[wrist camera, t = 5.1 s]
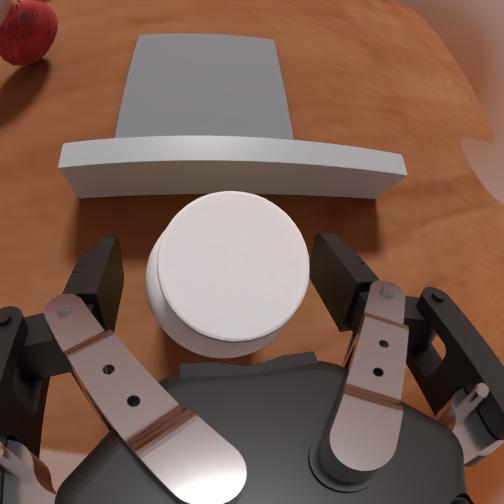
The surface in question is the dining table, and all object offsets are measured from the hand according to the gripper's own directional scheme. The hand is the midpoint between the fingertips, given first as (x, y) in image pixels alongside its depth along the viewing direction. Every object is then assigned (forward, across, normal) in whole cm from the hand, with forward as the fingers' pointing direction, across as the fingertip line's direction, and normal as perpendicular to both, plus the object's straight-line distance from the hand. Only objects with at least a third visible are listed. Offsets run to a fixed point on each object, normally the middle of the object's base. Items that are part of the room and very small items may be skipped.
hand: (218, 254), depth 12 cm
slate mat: (+14, 0, -7) cm, 16 cm away
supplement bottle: (+3, 0, +5) cm, 6 cm away
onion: (+18, +16, -10) cm, 26 cm away
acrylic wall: (+8, -2, 0) cm, 8 cm away
